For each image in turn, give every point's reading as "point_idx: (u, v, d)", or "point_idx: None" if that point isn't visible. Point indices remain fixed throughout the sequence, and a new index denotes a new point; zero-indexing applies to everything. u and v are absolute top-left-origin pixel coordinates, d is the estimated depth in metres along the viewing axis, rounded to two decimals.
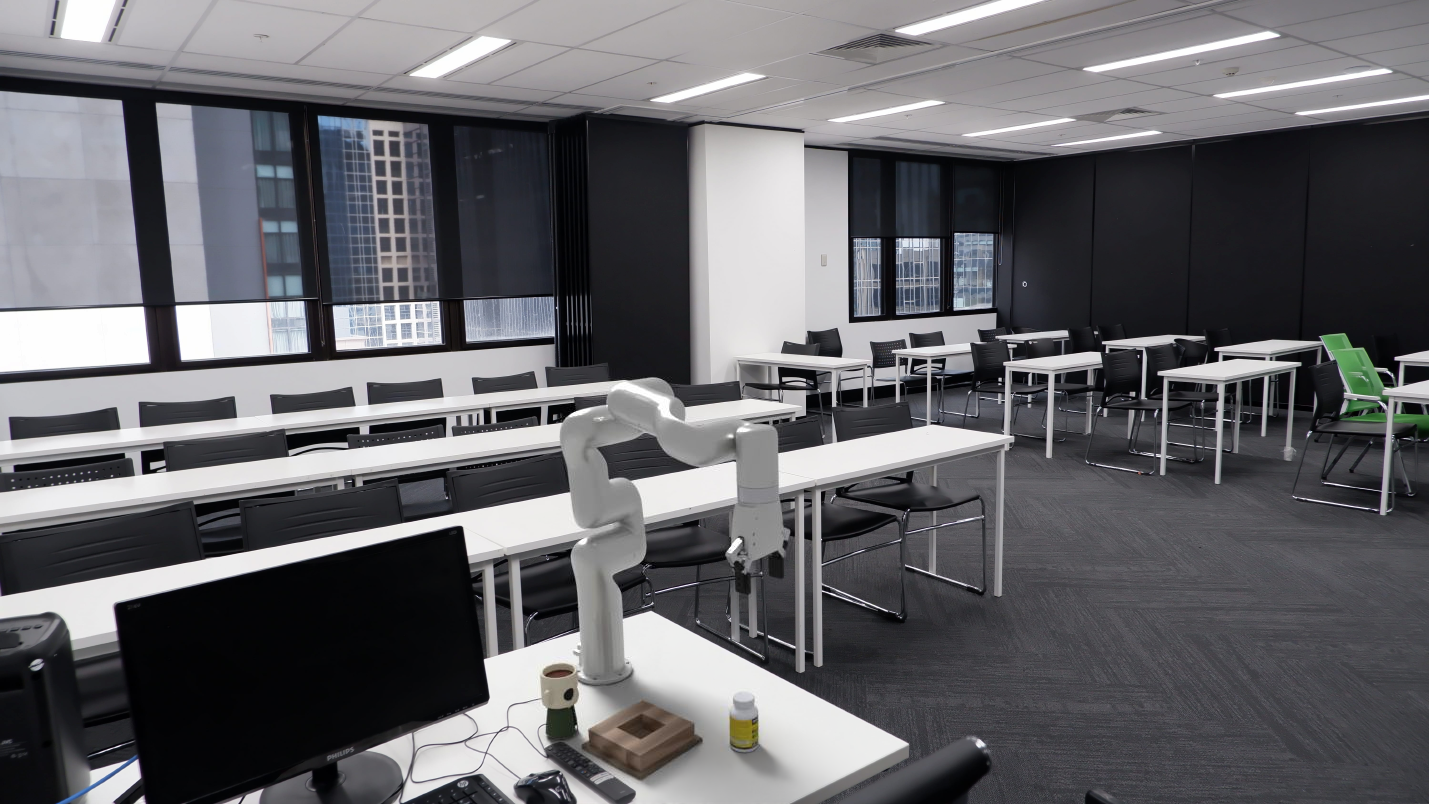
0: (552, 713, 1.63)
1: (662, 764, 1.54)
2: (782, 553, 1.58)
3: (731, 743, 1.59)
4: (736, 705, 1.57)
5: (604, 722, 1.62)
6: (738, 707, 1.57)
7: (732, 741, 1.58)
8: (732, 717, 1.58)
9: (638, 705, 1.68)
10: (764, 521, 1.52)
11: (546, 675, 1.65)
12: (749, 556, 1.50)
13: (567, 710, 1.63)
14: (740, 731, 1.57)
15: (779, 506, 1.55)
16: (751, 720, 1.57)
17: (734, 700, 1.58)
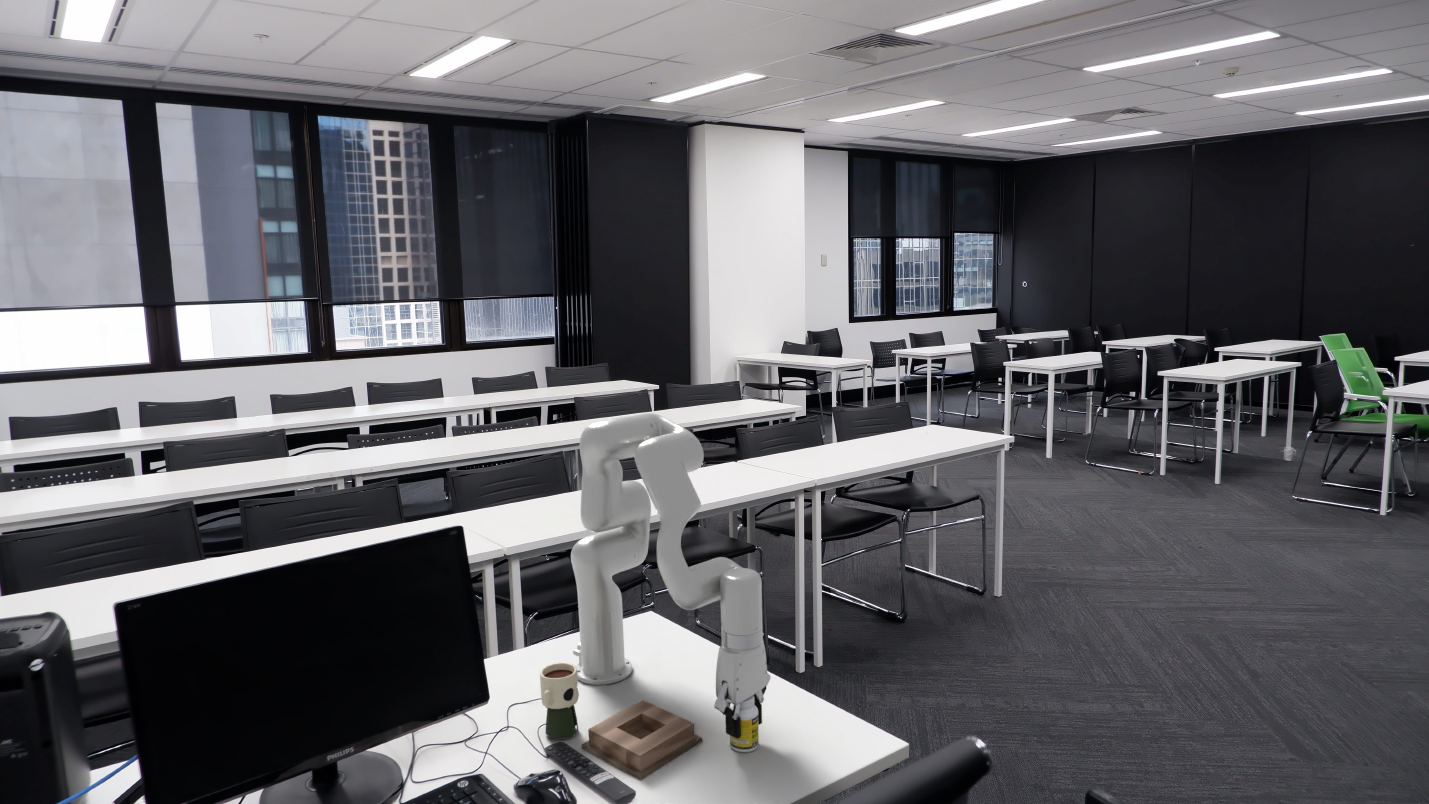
0: (552, 713, 1.63)
1: (662, 764, 1.54)
2: (760, 699, 1.61)
3: (731, 743, 1.59)
4: None
5: (604, 722, 1.62)
6: None
7: (733, 741, 1.58)
8: None
9: (638, 705, 1.68)
10: (748, 665, 1.55)
11: (546, 675, 1.65)
12: (733, 701, 1.54)
13: (567, 710, 1.63)
14: None
15: (763, 647, 1.58)
16: (751, 720, 1.57)
17: None
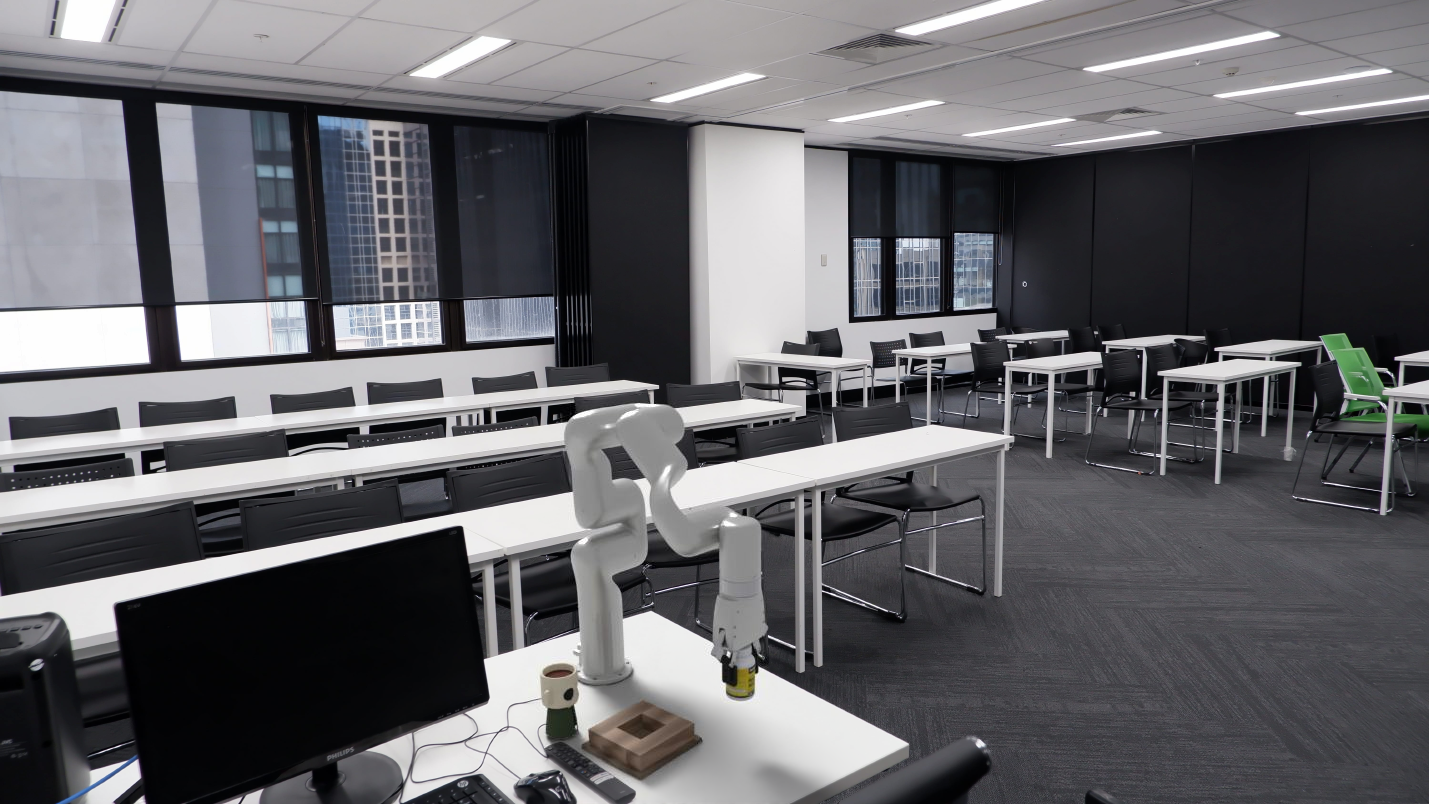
0: (552, 713, 1.63)
1: (662, 764, 1.54)
2: (757, 649, 1.59)
3: (727, 692, 1.58)
4: None
5: (604, 722, 1.62)
6: None
7: (729, 690, 1.57)
8: None
9: (638, 705, 1.68)
10: (746, 613, 1.54)
11: (546, 675, 1.65)
12: (730, 648, 1.53)
13: (567, 710, 1.63)
14: (737, 680, 1.56)
15: (761, 596, 1.57)
16: (748, 668, 1.56)
17: None
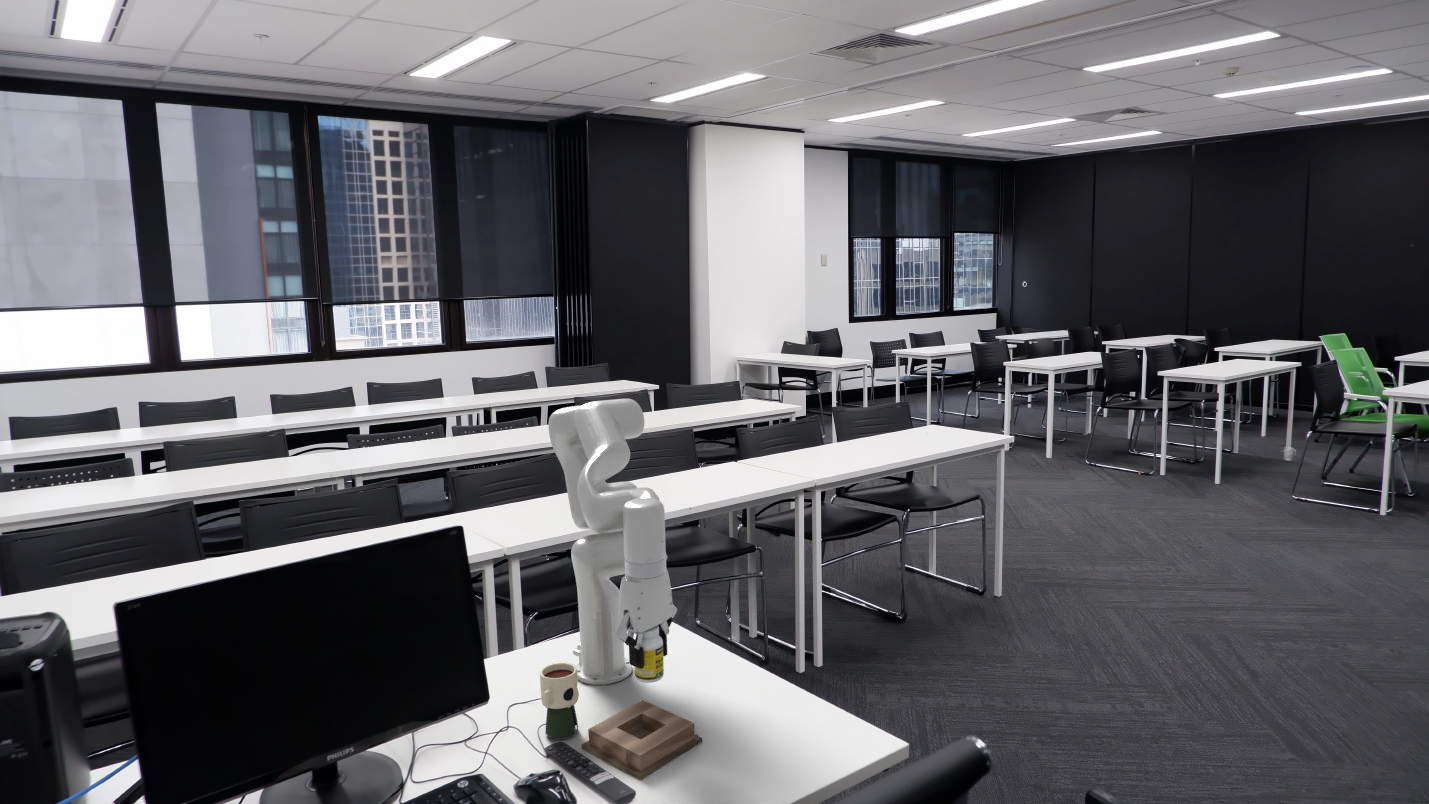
0: (552, 713, 1.63)
1: (662, 764, 1.54)
2: (665, 631, 1.60)
3: (635, 674, 1.58)
4: None
5: (604, 722, 1.62)
6: (642, 637, 1.56)
7: (637, 672, 1.57)
8: None
9: (638, 705, 1.68)
10: (650, 594, 1.54)
11: (546, 675, 1.65)
12: (634, 630, 1.53)
13: (567, 710, 1.63)
14: (644, 662, 1.56)
15: (667, 578, 1.57)
16: (655, 650, 1.56)
17: None
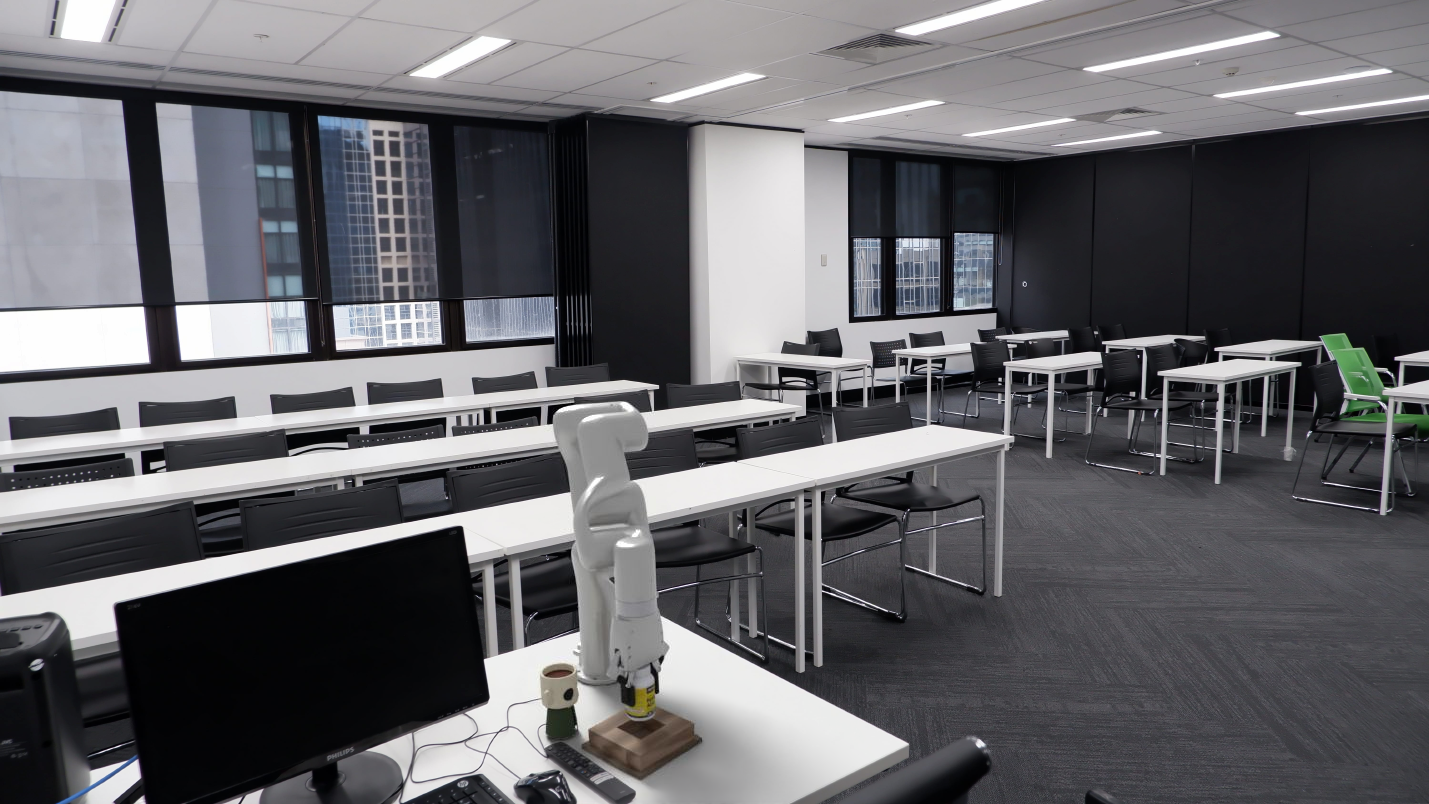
0: (552, 713, 1.63)
1: (662, 764, 1.54)
2: (657, 669, 1.60)
3: (627, 712, 1.59)
4: None
5: (604, 722, 1.62)
6: (633, 676, 1.57)
7: (628, 710, 1.58)
8: None
9: None
10: (641, 633, 1.55)
11: (546, 675, 1.65)
12: (625, 668, 1.54)
13: (567, 710, 1.63)
14: (635, 700, 1.57)
15: (658, 616, 1.58)
16: (646, 688, 1.57)
17: None
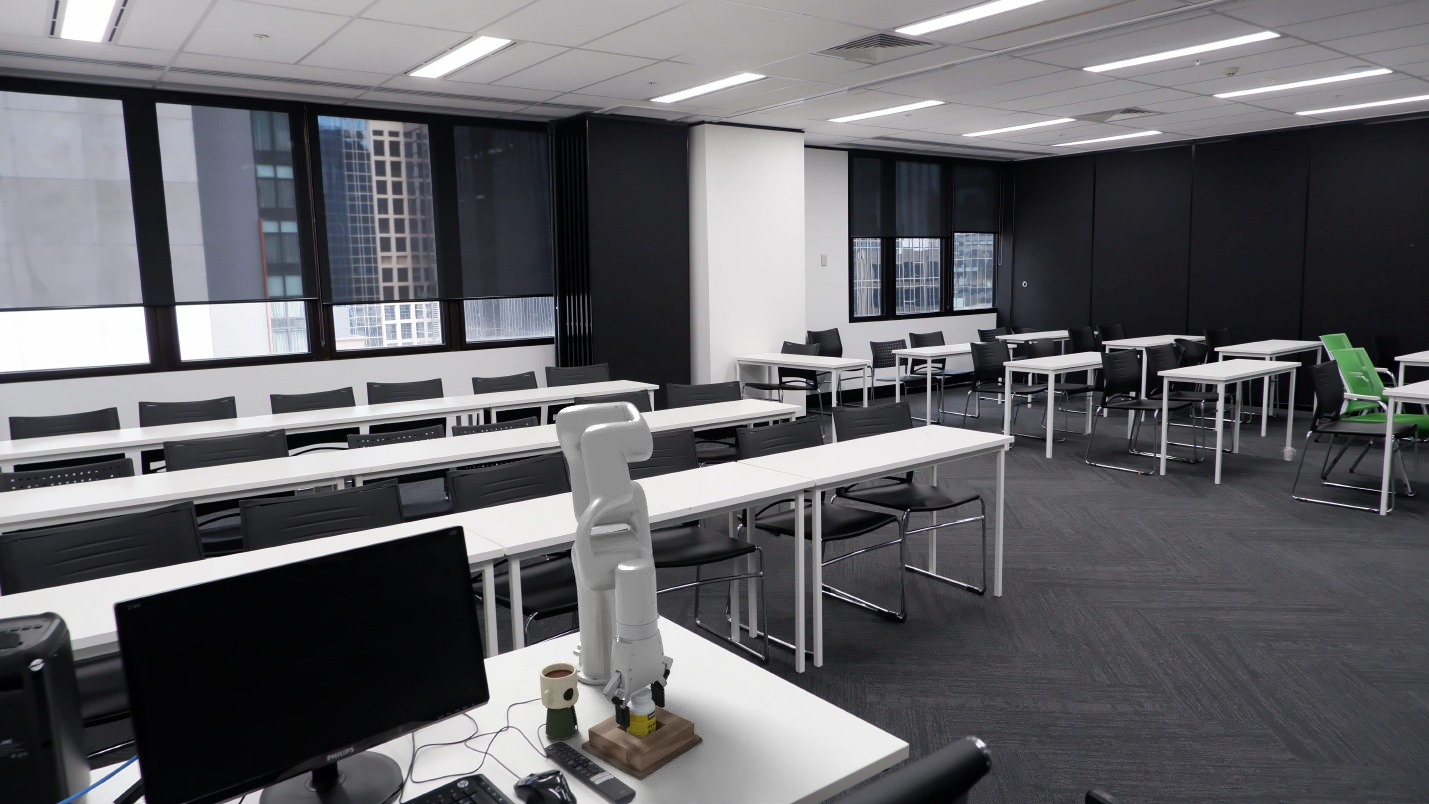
0: (552, 713, 1.63)
1: (662, 764, 1.54)
2: (663, 683, 1.62)
3: None
4: (632, 700, 1.58)
5: (604, 722, 1.62)
6: (634, 702, 1.58)
7: None
8: None
9: None
10: (642, 655, 1.56)
11: (546, 675, 1.65)
12: (626, 690, 1.54)
13: (567, 710, 1.63)
14: (636, 726, 1.58)
15: (659, 638, 1.59)
16: (647, 715, 1.58)
17: None
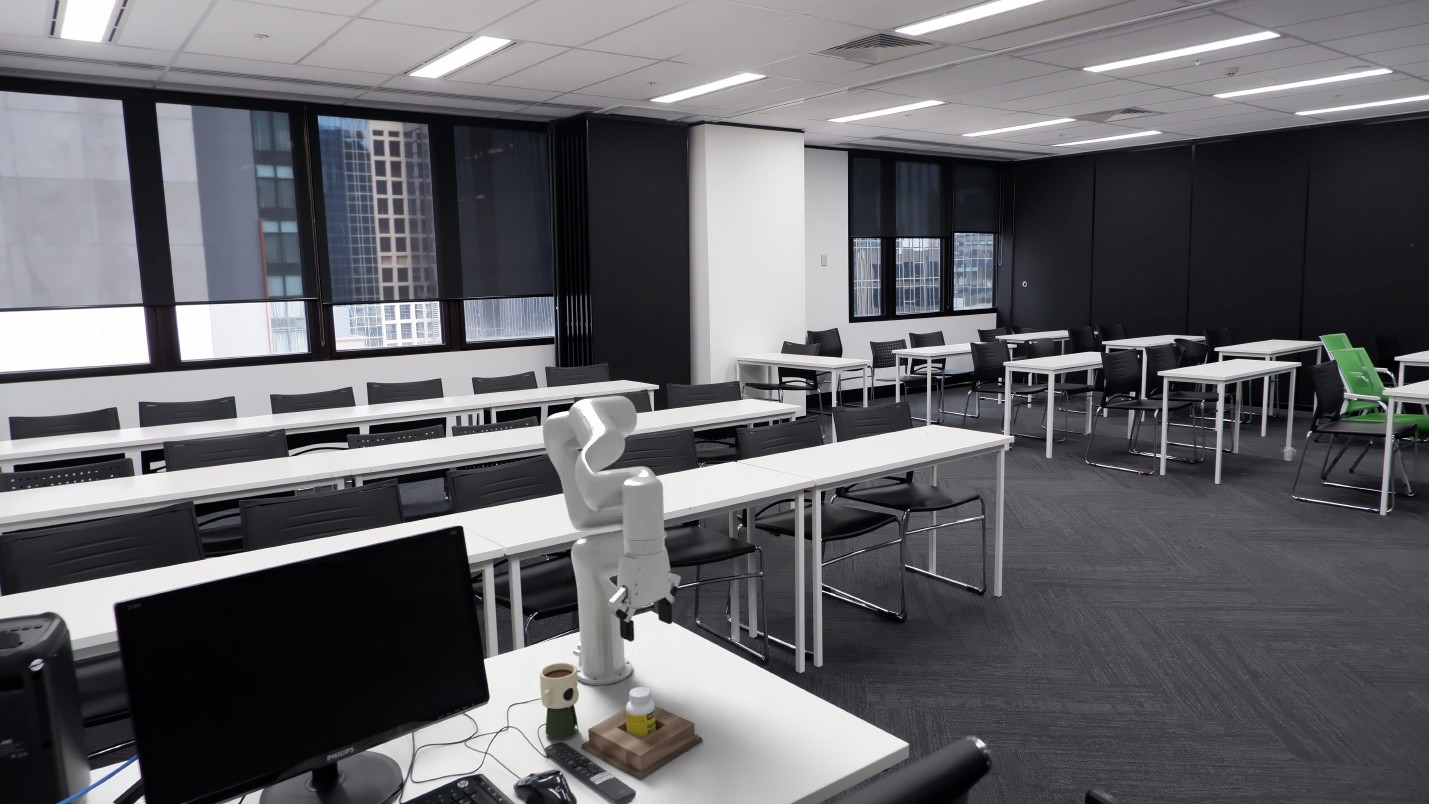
0: (552, 713, 1.63)
1: (662, 764, 1.54)
2: (670, 599, 1.63)
3: None
4: (631, 700, 1.58)
5: (604, 722, 1.62)
6: (633, 702, 1.58)
7: None
8: (628, 713, 1.59)
9: None
10: (648, 571, 1.57)
11: (546, 675, 1.65)
12: (632, 605, 1.56)
13: (567, 710, 1.63)
14: (635, 727, 1.58)
15: (666, 555, 1.60)
16: (646, 715, 1.58)
17: (630, 696, 1.59)
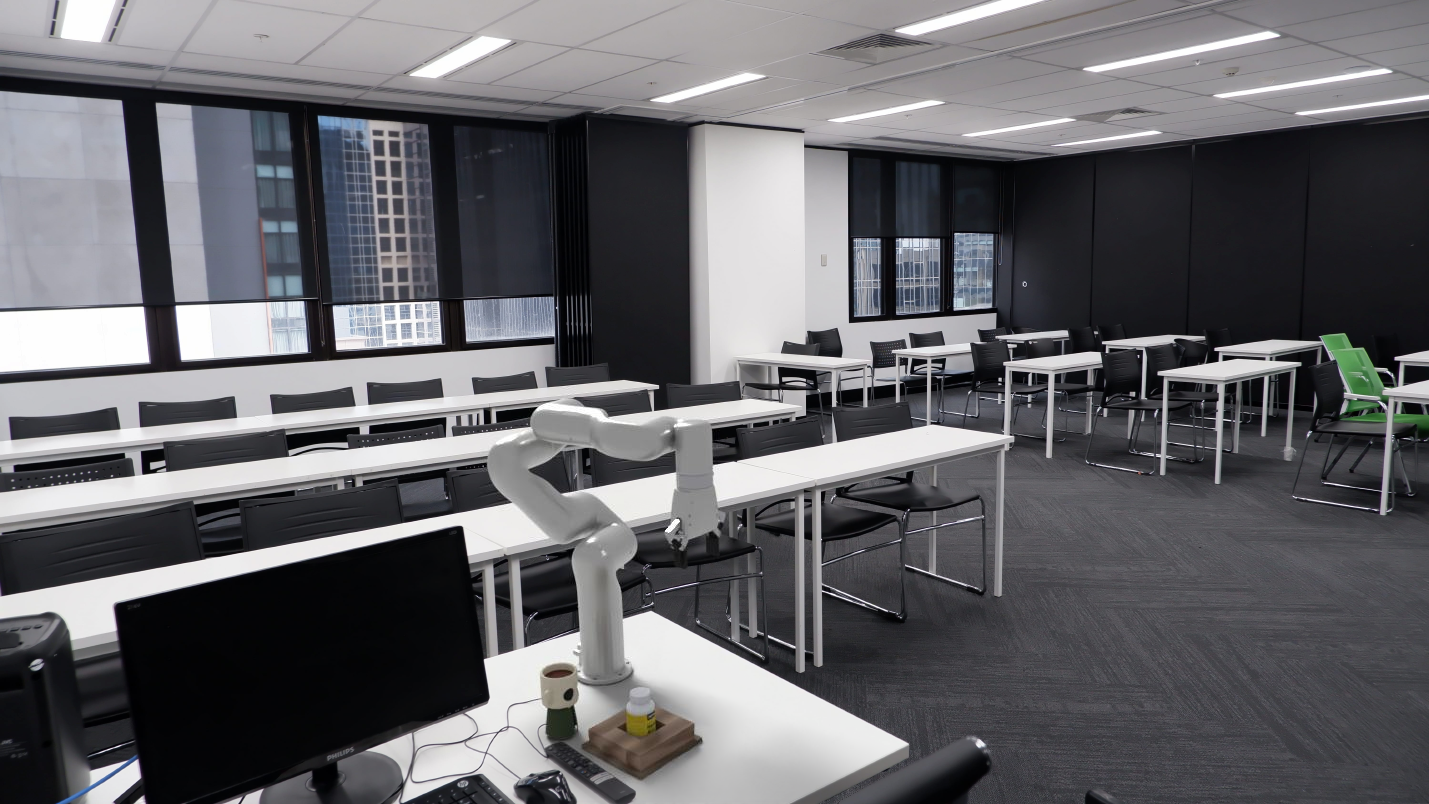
0: (552, 713, 1.63)
1: (662, 764, 1.54)
2: (717, 533, 1.80)
3: None
4: (632, 700, 1.58)
5: (604, 722, 1.62)
6: (634, 702, 1.58)
7: None
8: (628, 713, 1.59)
9: None
10: (699, 504, 1.73)
11: (546, 675, 1.65)
12: (685, 535, 1.72)
13: (567, 710, 1.63)
14: (635, 727, 1.58)
15: (714, 492, 1.77)
16: (646, 715, 1.58)
17: (630, 696, 1.59)
